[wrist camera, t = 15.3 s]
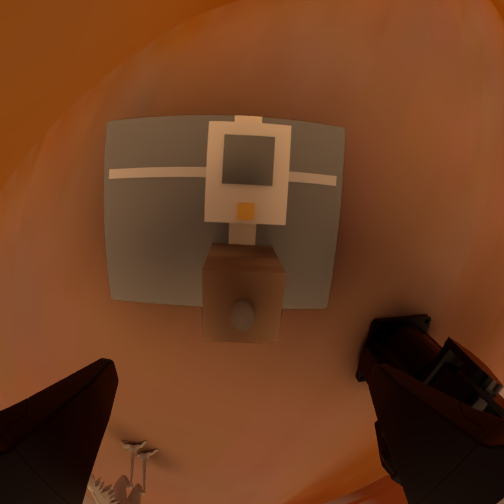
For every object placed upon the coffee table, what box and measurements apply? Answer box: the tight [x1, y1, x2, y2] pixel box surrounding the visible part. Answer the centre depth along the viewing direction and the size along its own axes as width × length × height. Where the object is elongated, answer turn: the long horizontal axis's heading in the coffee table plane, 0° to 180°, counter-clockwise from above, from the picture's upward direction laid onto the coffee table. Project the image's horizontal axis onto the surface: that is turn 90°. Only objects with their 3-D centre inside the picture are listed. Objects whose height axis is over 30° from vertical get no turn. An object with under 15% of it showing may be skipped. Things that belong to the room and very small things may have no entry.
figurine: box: [87, 441, 158, 504], centre depth 17 cm, size 11×4×15 cm, turn 34°
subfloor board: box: [104, 115, 345, 309], centre depth 17 cm, size 15×12×2 cm
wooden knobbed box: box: [202, 243, 286, 343], centre depth 14 cm, size 4×4×6 cm
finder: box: [204, 121, 291, 225], centre depth 14 cm, size 4×5×3 cm
